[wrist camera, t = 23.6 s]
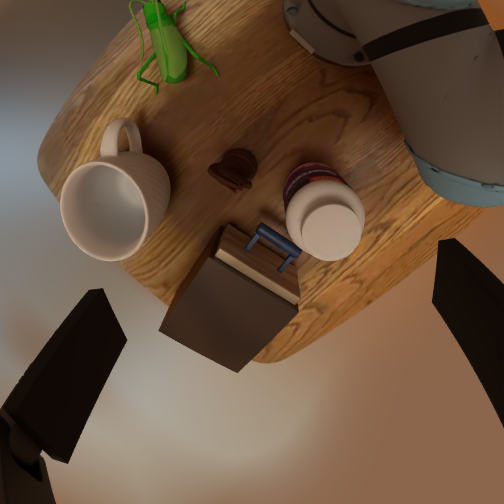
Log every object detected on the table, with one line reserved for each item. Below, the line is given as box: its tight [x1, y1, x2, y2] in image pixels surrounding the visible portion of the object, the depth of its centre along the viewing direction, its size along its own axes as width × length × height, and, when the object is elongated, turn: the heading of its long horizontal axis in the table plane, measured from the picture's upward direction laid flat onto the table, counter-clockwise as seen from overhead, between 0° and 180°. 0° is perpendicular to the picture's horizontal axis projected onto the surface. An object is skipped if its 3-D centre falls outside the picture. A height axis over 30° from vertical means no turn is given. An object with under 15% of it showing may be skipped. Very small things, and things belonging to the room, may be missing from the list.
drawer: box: [215, 222, 302, 305], centre depth 41 cm, size 17×11×8 cm
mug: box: [60, 118, 171, 261], centre depth 34 cm, size 15×11×13 cm
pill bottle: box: [283, 163, 365, 261], centre depth 34 cm, size 8×8×14 cm
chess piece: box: [208, 149, 257, 193], centre depth 35 cm, size 5×5×10 cm
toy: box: [129, 0, 219, 94], centre depth 28 cm, size 8×12×10 cm
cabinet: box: [159, 226, 299, 373], centre depth 43 cm, size 14×13×10 cm
